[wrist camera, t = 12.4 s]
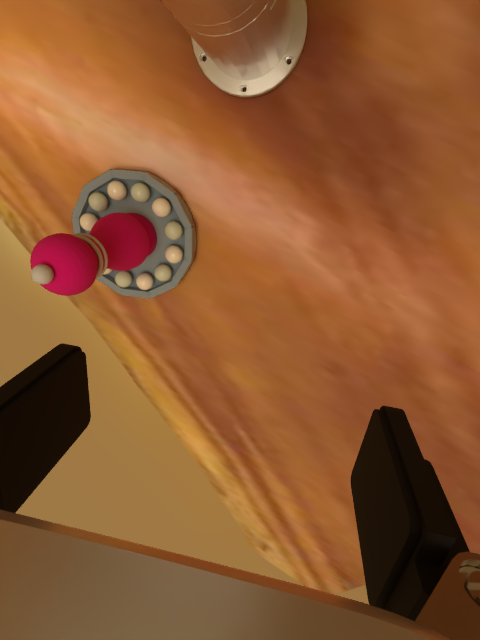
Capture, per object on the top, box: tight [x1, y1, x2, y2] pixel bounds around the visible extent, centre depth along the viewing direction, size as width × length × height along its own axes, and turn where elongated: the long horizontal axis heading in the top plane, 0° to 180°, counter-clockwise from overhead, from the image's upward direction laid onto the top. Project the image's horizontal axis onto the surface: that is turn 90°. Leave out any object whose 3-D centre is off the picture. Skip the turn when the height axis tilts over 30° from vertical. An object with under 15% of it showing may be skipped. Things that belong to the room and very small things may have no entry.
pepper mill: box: [30, 213, 157, 296], centre depth 39 cm, size 7×7×20 cm
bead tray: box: [72, 169, 197, 299], centre depth 48 cm, size 17×17×4 cm
